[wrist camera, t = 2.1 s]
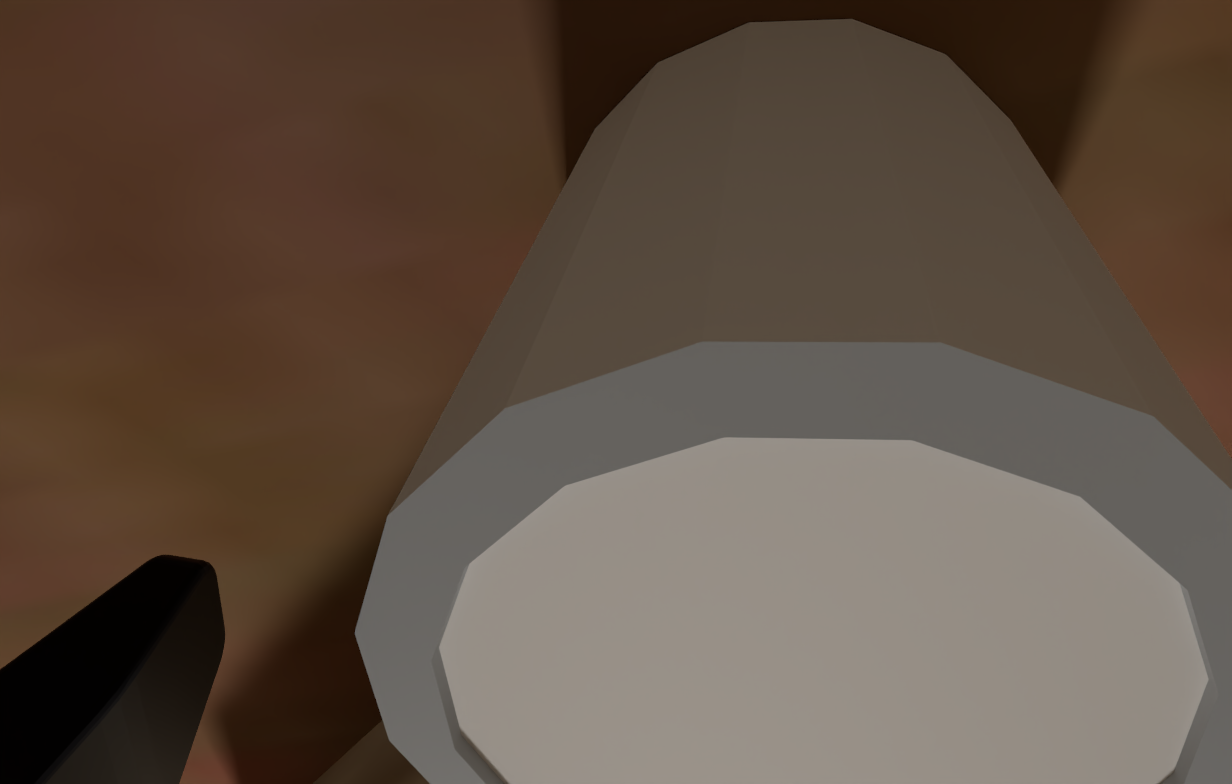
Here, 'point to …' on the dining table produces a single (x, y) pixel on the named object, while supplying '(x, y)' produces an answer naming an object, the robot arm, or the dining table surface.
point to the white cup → (810, 464)
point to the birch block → (372, 763)
